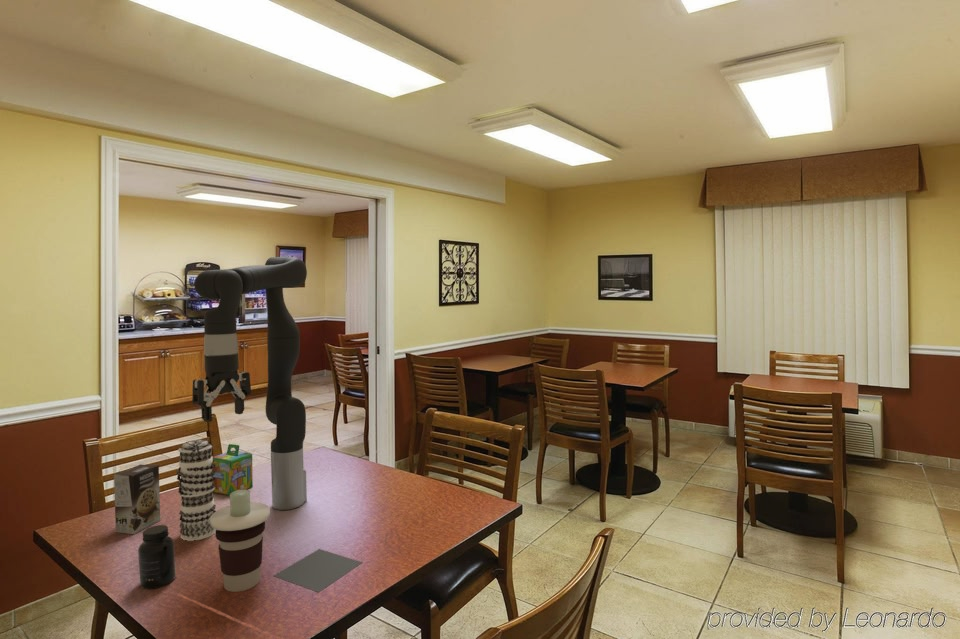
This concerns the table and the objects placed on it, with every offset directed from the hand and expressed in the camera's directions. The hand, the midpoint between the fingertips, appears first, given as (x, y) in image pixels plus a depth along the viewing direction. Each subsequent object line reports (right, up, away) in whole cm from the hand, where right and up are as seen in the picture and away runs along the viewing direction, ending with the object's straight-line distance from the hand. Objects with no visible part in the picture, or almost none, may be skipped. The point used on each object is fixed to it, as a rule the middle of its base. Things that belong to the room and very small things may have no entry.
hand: (223, 417), depth 129 cm
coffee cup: (+10, -35, -13) cm, 39 cm away
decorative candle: (-13, -34, +12) cm, 38 cm away
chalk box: (-18, -32, +43) cm, 57 cm away
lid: (+10, -20, -14) cm, 26 cm away
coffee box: (-32, -34, +17) cm, 49 cm away
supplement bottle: (-9, -35, -11) cm, 38 cm away
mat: (+26, -34, -7) cm, 44 cm away
